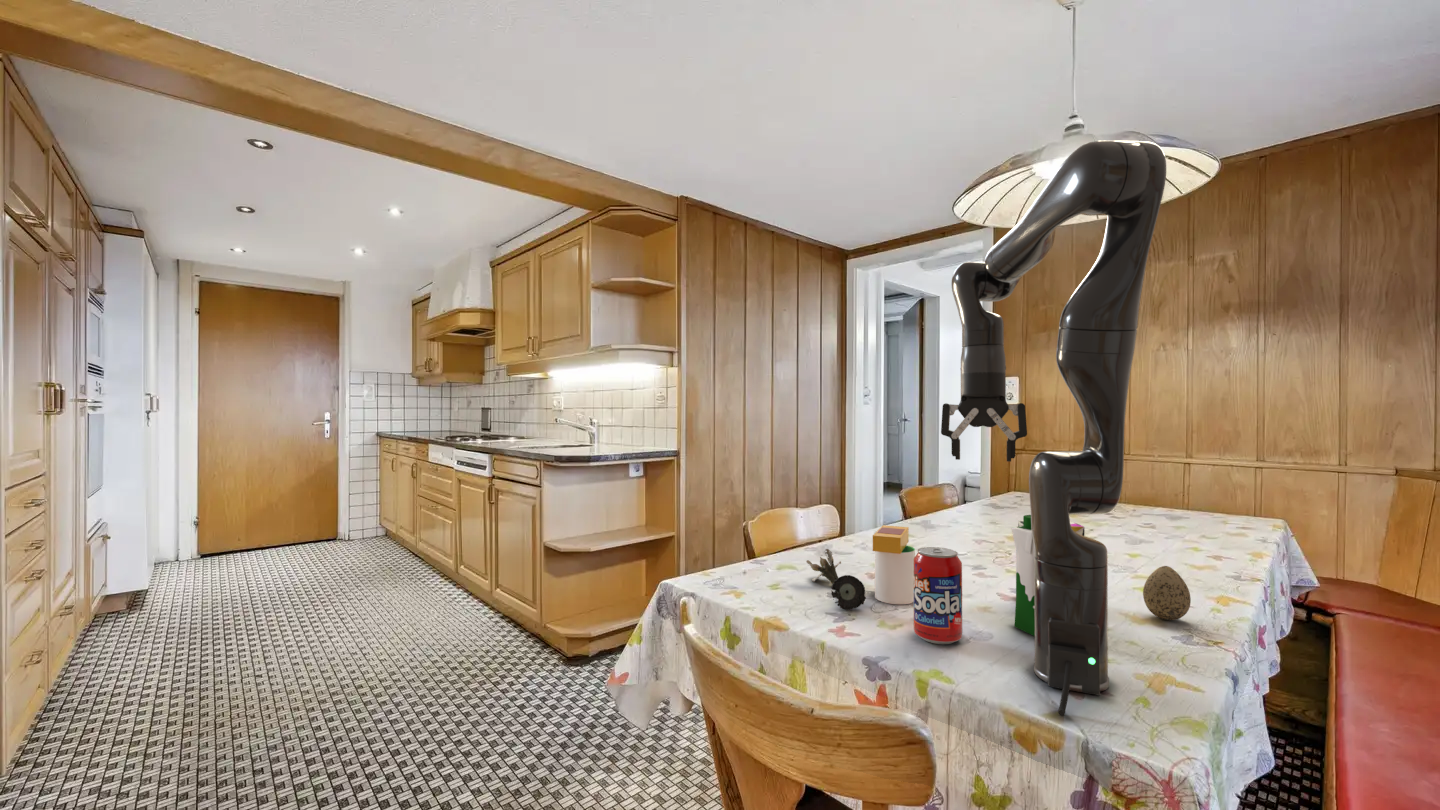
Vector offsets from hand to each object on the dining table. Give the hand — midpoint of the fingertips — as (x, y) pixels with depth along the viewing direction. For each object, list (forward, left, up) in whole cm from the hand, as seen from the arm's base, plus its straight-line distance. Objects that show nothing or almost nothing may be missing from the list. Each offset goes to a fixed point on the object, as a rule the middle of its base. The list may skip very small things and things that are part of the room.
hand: (983, 460), depth 108 cm
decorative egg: (+18, -31, -30) cm, 47 cm away
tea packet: (+11, +18, -20) cm, 29 cm away
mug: (+11, +18, -30) cm, 37 cm away
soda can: (-10, +7, -30) cm, 33 cm away
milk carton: (+1, -10, -30) cm, 32 cm away
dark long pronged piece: (+7, +30, -30) cm, 43 cm away
